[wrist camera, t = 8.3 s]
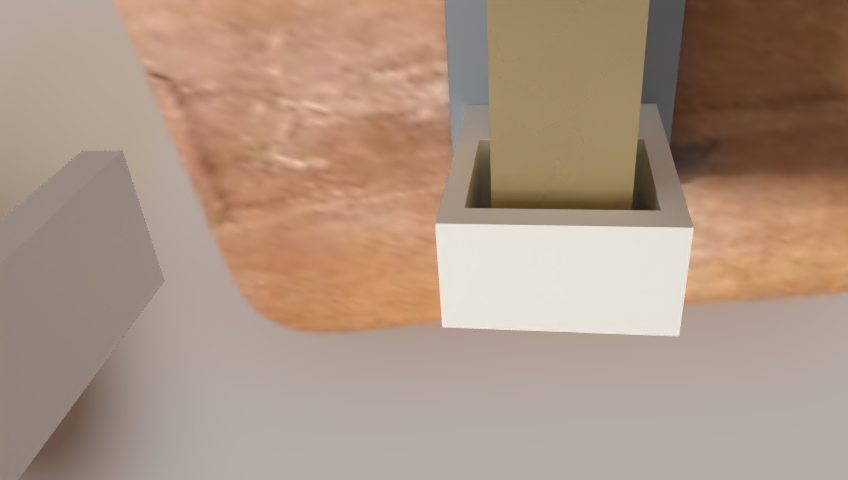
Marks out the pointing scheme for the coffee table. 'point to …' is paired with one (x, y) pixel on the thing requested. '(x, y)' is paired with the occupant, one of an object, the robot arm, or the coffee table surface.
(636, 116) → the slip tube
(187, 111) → the coffee table surface
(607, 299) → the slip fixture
